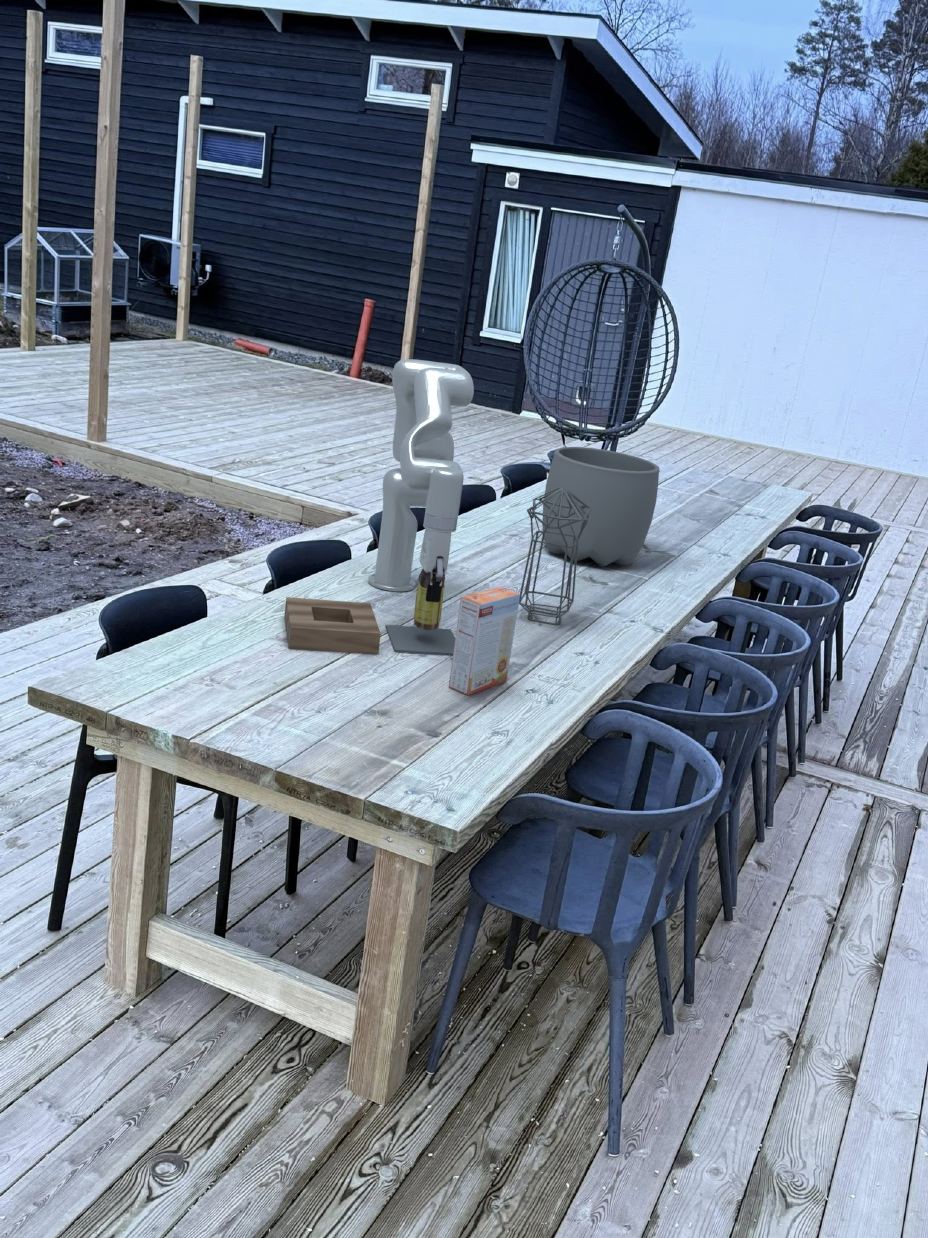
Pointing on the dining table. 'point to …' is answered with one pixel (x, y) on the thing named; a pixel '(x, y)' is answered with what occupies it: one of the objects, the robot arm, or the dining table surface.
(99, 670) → the dining table surface
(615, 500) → the planter pot
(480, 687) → the cracker box
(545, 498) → the geometric lantern
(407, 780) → the dining table surface
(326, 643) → the holder block
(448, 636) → the rubber mat
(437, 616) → the sauce bottle
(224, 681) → the dining table surface
